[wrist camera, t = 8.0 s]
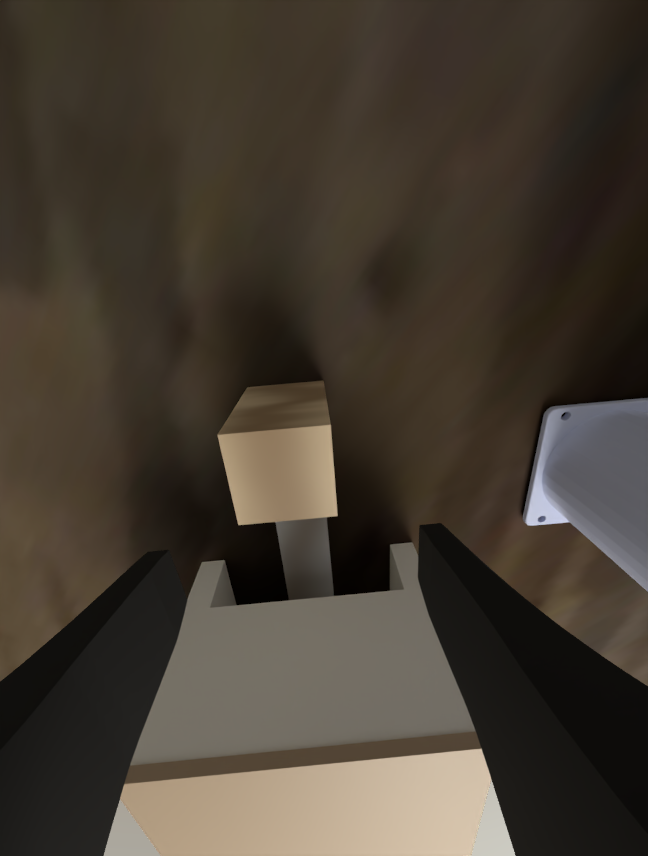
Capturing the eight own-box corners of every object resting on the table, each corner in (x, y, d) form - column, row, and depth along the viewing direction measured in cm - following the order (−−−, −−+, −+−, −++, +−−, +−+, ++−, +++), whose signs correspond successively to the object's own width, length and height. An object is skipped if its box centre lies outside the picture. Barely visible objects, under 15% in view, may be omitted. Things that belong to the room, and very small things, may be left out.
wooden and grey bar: (323, 380, 17) (330, 424, 11) (344, 633, 25) (354, 731, 19) (247, 387, 17) (217, 435, 11) (292, 638, 25) (287, 738, 19)
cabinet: (414, 541, 21) (500, 747, 12) (409, 641, 26) (471, 855, 16) (199, 560, 21) (110, 785, 12) (230, 658, 25) (181, 884, 16)
